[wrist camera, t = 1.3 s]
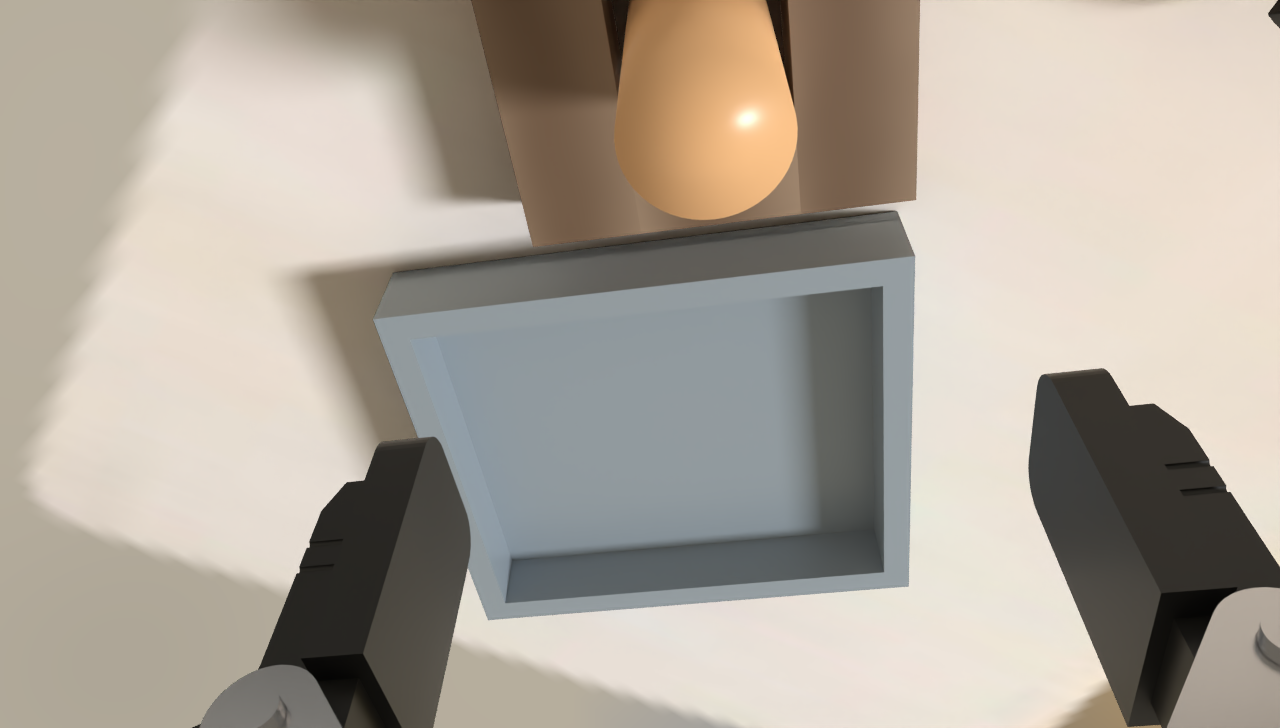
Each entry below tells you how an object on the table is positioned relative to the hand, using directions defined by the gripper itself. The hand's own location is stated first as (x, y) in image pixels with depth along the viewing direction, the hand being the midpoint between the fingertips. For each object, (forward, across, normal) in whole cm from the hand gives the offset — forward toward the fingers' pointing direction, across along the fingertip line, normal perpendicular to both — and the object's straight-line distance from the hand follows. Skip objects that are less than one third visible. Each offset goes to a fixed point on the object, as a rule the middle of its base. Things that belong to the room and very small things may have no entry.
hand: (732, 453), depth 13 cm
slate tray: (+20, +3, +16) cm, 26 cm away
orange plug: (+20, 0, 0) cm, 20 cm away
